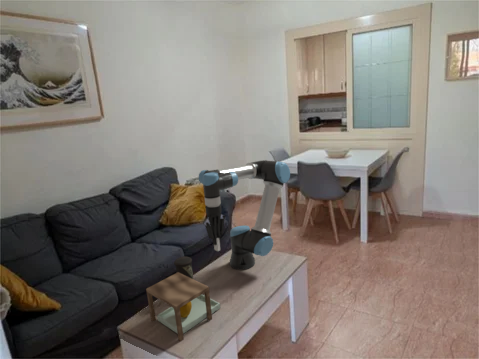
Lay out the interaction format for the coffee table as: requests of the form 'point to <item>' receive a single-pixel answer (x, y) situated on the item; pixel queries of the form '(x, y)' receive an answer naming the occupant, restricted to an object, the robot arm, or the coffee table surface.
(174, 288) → the riser
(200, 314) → the tray
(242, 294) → the coffee table surface
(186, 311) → the apple
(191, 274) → the container
